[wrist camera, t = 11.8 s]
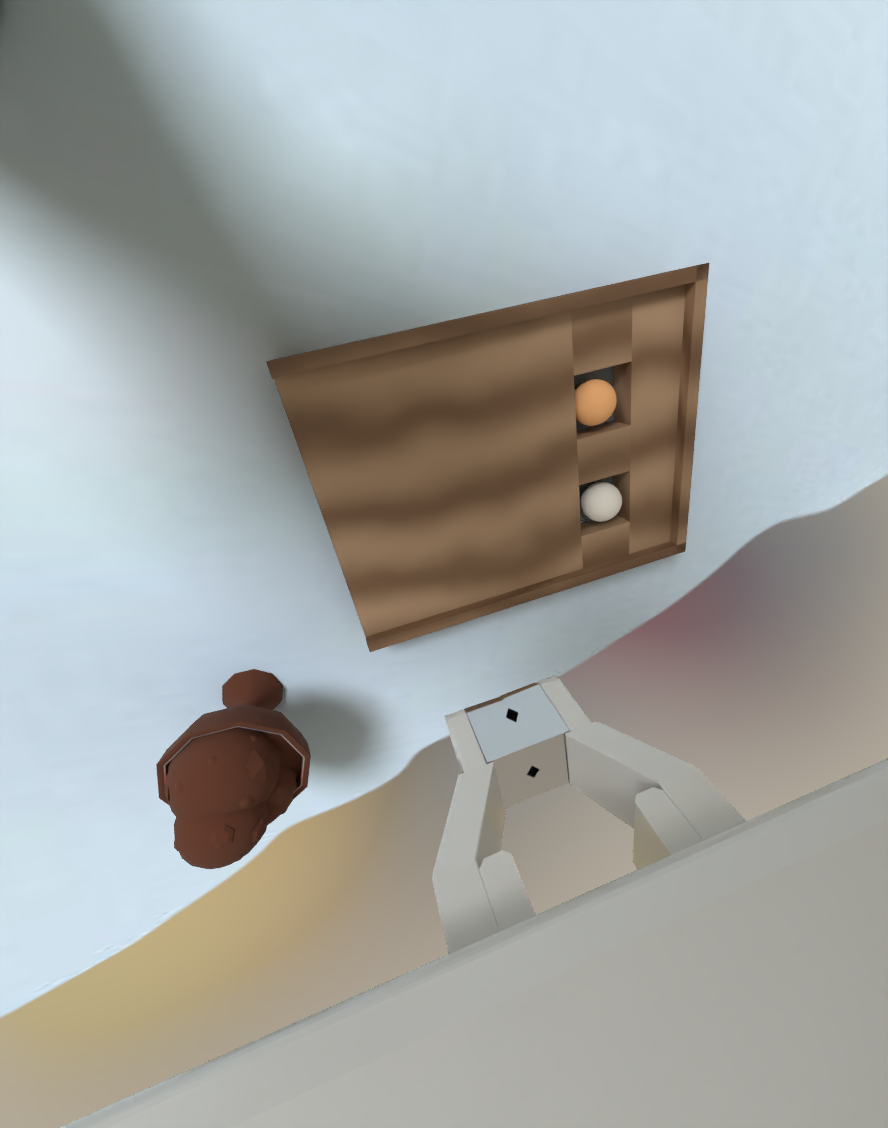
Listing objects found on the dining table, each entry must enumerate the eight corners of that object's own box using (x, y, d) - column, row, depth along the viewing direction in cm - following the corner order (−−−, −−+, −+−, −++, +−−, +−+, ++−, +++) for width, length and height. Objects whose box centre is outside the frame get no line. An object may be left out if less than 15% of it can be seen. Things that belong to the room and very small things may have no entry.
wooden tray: (271, 360, 31) (266, 361, 28) (675, 270, 35) (709, 262, 32) (366, 630, 42) (369, 652, 39) (661, 537, 46) (685, 551, 43)
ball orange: (622, 377, 33) (609, 372, 36) (573, 386, 34) (565, 381, 37) (621, 425, 35) (610, 417, 38) (575, 433, 35) (567, 424, 39)
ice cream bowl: (324, 716, 45) (327, 865, 32) (211, 746, 43) (165, 917, 30) (297, 634, 40) (288, 770, 27) (168, 664, 38) (91, 826, 25)
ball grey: (572, 483, 41) (593, 494, 38) (607, 473, 41) (630, 483, 38) (574, 518, 42) (594, 531, 39) (607, 508, 43) (630, 521, 40)
